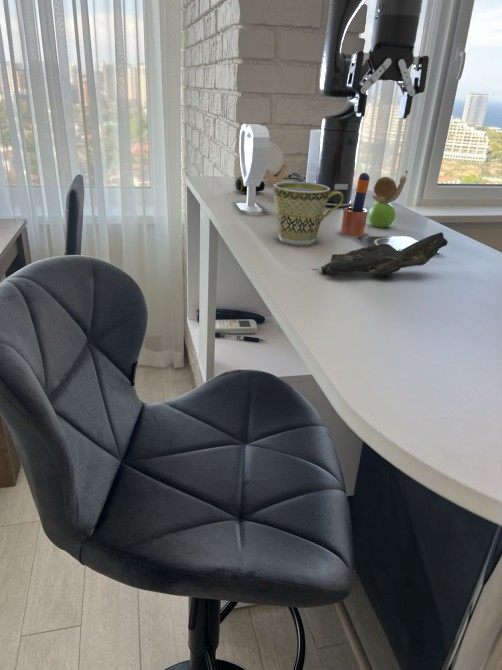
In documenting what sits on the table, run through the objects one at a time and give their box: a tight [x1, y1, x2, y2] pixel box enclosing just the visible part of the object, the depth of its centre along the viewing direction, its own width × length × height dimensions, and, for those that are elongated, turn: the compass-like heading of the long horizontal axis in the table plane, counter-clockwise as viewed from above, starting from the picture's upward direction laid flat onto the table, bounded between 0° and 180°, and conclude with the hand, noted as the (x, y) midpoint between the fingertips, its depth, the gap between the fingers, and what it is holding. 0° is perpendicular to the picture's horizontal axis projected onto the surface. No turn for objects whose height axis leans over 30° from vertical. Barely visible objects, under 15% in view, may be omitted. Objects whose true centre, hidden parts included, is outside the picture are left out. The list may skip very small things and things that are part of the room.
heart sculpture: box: [235, 123, 271, 213], centre depth 113 cm, size 16×5×18 cm, turn 11°
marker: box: [351, 172, 371, 212], centre depth 97 cm, size 2×2×12 cm
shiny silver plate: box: [356, 235, 440, 255], centre depth 94 cm, size 11×11×1 cm
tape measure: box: [234, 176, 266, 195], centre depth 134 cm, size 7×7×4 cm
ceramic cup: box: [273, 180, 343, 245], centre depth 92 cm, size 13×10×10 cm
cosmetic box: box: [305, 129, 321, 183], centre depth 145 cm, size 8×7×16 cm
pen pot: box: [340, 206, 369, 237], centre depth 99 cm, size 4×5×5 cm
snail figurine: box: [367, 169, 409, 229], centre depth 104 cm, size 5×6×12 cm
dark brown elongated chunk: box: [320, 231, 449, 279], centre depth 78 cm, size 6×6×20 cm
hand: (381, 117), depth 94 cm, fingers open, 8 cm apart
